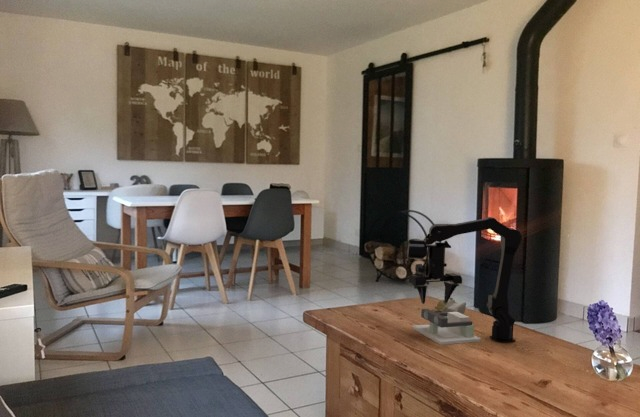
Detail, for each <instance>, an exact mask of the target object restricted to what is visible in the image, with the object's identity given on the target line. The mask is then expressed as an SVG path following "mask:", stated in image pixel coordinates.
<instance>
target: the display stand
mask: <svg viewBox="0 0 640 417" xmlns="http://www.w3.org/2000/svg"><path fill="white" fill-rule="evenodd" d="M443 317H445V318H448V323H450V322H464V321H470V317H469V316H467V315H465V314H461V313H459V312H448V313H447V316H443ZM412 329H413V330H414V331H416V332H418V333H420V334H421V335H422V336H425V337H427V338H428V339H430V340H432V341H434V342H435V343H436V344H439V345H440V346H443V345H454V344H465V343H478V342H482V338H481V337H479V336H476V335H475V325H473V324H472V325H469V326H456V327H442V328H441V327H439V326H437V325H435V324H434V323H432V322H430V321H429V323H428V324H418V325H417V324H415V325H412Z"/></svg>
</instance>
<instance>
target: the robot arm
mask: <svg viewBox="0 0 640 417" xmlns="http://www.w3.org/2000/svg"><path fill="white" fill-rule="evenodd" d="M486 230H491V231H492V232H494V233H495V234H496V235H498V236H500V249H501V255H500V261H499V267H498V273H497V277H496V278H497V279H496V284H495V289H494V292H493V293H492V295H491V294H488V296H487V298H488V300H487V303H486V307H487V309H488V312H489V314H490V315H491V316H493V319H494V321H493V322H492V327H491V335H489V338H490V339H493V340H495V341H497V342H498V343H509V342H510V343H511V342H516V338H514V324H515V323H516V319H515V318H513V316H512V315H511V314H510V305H509V296H508V293H509V288H510V282H511V277H512V270H513V267H514V266H513V265H514V260H515V255H516V253H517V252H518V250H519V248H520V246H521V243H522V241H523V235H522V233H521V232H520V231H519V230H517V229H515V228H512V227H508V226H506V225H504V224H502V223H501V222H499V221H498V220H497V219H496V218H495V217H492V216H488V217H485V218H480V219H476V220H469V221H464V222H463V221H462V222H457V223H435V224H432V225H431V226H430V228H429V230H428V233H427V235H426V236H425V237H424V238H423V239H420V240H419V239H413V238H412V239H411V238H410V239H408V246H407V259H416V260H424V259H425V258H426V257H427V256H428V261H426V262H425V265H423V264H422V263H417V264H415V269H414V270H415V274H410V275H409V276H408V283H409V284H411V285H413V286H414V287H415V288H416V290H417V292H418V294H419V295H418V296H419V297H420V301H421V304H423V305H425V303H426V299H427V297H426V296H427V288H428V285H426V284H427V283H435V282H436V283H437V282H438V283H439V282H443V284H444V285H443V286H444V296H443V297H444V300H445V302H446V303H447V302H448V300H449V298H450V297H452V294H453V293H454V291H455V290H456V288H457V287H459V286H460V284H463V277H462V276H461V275H460V274H458V273H455V272H450V273H449V272H447V273H445V267H447V265H448V264H447V263H445V262H446V249H451V248H452V246H451V245H450V244H449V243H448V241H447V240H448V239H452V238H453V237H456V236H458V235H464V234H470V233H474V232H475V233H476V232H479V231H480V232H481V231H486ZM443 241H444V242H443Z"/></svg>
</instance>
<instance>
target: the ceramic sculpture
mask: <svg viewBox="0 0 640 417" xmlns="http://www.w3.org/2000/svg"><path fill="white" fill-rule="evenodd" d="M466 305H467V303H466V302H461V303H458V302H456V301H455V299H454V298H453V297H452V296H450V298H449V300H448V302H447V303H446V302H445V300H444V299H441V300H439V301H438V302H437V304H436V306H434V308H433V309H430V310H431V311H433V312H435V313H441V312H459V313H461V314H463V315H465V312H466V309H467V308H466Z"/></svg>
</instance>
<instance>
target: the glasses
mask: <svg viewBox="0 0 640 417" xmlns="http://www.w3.org/2000/svg"><path fill="white" fill-rule="evenodd" d="M431 310H432V309H430V308H421V315H420V316H421V318H423V319H424V320H427V321H428V322H429V323H430V322H432V323H434V324H435V325H437V326H439V327H441V328H442V327H456V326H469V325H473V321H472V320H469V321H464V322H450V323H448V318H445V317H443V316H447V313H448V312H441V313H435V312H433V311H431Z"/></svg>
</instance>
